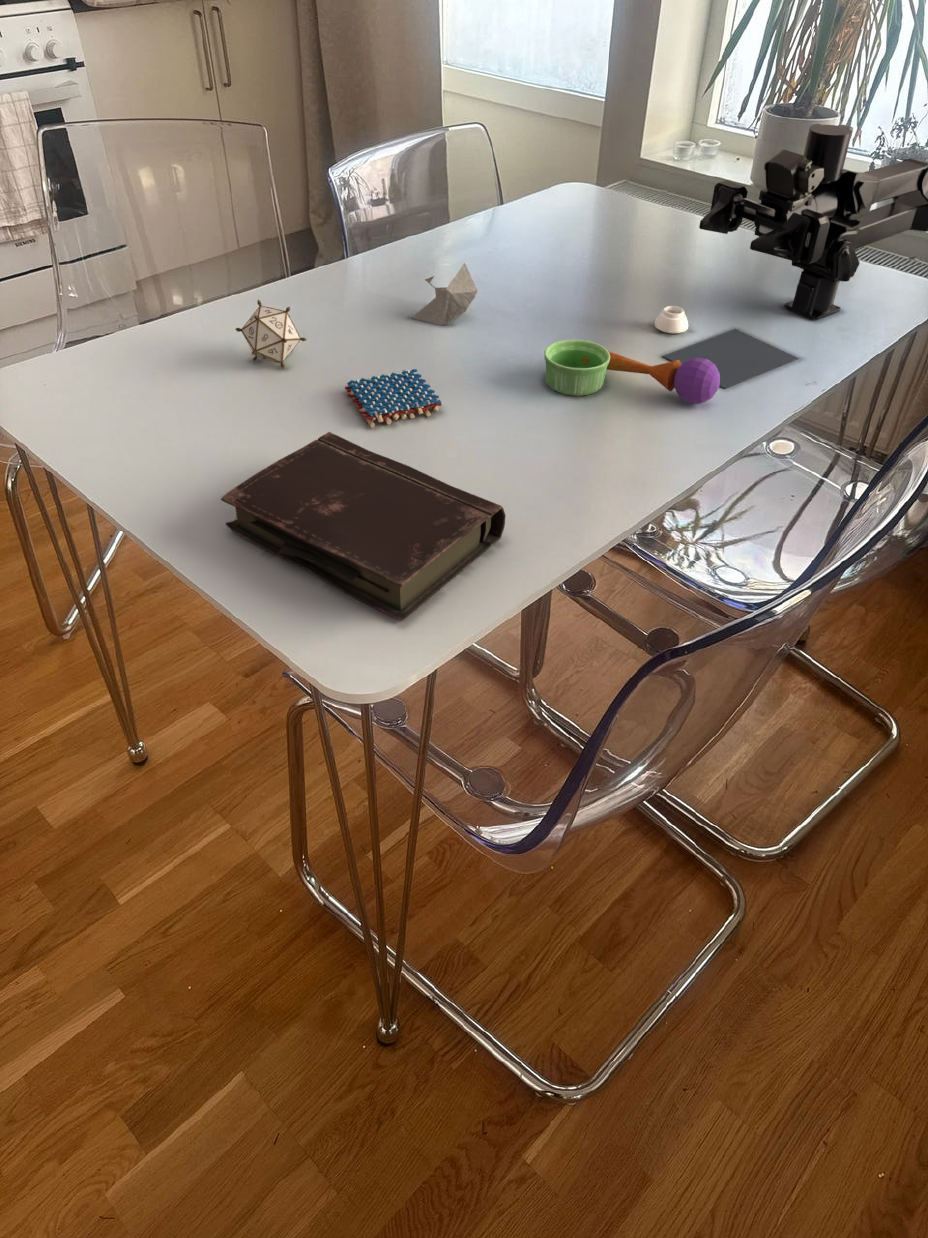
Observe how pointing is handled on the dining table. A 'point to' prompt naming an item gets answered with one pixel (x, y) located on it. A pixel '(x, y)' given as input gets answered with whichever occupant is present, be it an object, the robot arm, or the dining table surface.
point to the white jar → (672, 320)
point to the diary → (365, 522)
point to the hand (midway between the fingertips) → (725, 234)
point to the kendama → (675, 375)
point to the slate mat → (735, 356)
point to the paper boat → (449, 299)
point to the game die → (271, 334)
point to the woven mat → (392, 396)
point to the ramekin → (575, 367)
